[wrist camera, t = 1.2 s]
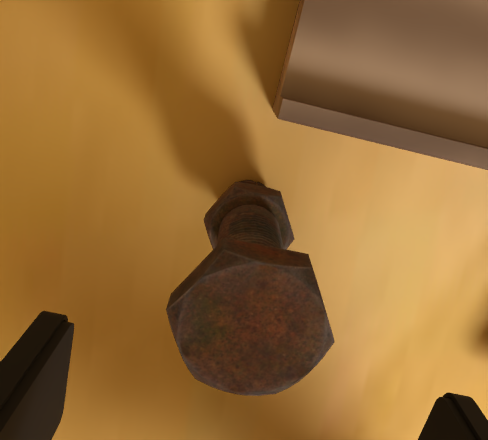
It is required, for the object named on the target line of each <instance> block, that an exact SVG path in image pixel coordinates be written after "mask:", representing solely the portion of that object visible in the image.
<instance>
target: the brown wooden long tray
mask: <svg viewBox="0 0 488 440" xmlns="http://www.w3.org/2000/svg"><path fill="white" fill-rule="evenodd" d="M273 112H274V113H275V115H276V117H277V118H278V119H281V120H285V121H289V122H293V123H297V124H301V125H305V126H309V127H314V128H318V129H322V130H326V131H330V132H334V133H338V134H342V135H346V136H350V137H355V138H359V139H363V140H367V141H371V142H375V143H379V144H383V145H387V146H391V147H395V148H400V149H404V150H408V151H412V152H416V153H420V154H424V155H428V156H432V157H436V158H440V159H445V160H449V161H453V162H457V163H461V164H465V165H469V166H473V167H477V168H481V169H486V170H488V0H300V2H299V6H298V10H297V14H296V18H295V22H294V26H293V30H292V34H291V38H290V42H289V46H288V50H287V54H286V58H285V62H284V66H283V70H282V74H281V78H280V82H279V86H278V90H277V94H276V98H275V102H274V106H273Z"/></svg>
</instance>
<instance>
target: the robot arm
mask: <svg viewBox="0 0 488 440" xmlns="http://www.w3.org/2000/svg"><path fill="white" fill-rule="evenodd" d="M73 333H74V323H70V322H68V318H67V316H66V315H62V314H57V313H52V312H47V311H42V312H41V313H40V314H39V315H38V317H37V318H36V319H35V320H34V322H33V323H32V324H31V325H30V327H29V328H28V329H27V330H26V331H25V333H24V334H23V335H22V336H21V338H20V339H19V340H18V341H17V343H16V344H15V345H14V346H13V348H12V349H11V350H10V351H9V352H8V354H7V355H6V356H5V357H4V359H3V360H2V361H0V440H51V439H52V437H53V435H54V433H55V431H56V429H57V428H58V425H59V423H60V420H61V417H62V414H63V409H64V401H65V394H66V386H67V378H68V371H69V363H70V356H71V348H72V340H73ZM418 440H488V420H487V419H486V417H485V416H484V414H483V413H482V411H481V410H480V408H479V407H478V405H477V404H476V403H475V401H474V400H473V399H472V398H471V397H468V396H463V395H458V394H453V393H446V394H445V395H444V396H443V397H439V398H438V399H437V400H436V402H435V404H434V406H433V408H432V410H431V412H430V415H429V417H428V419H427V421H426V423H425V425H424V427H423V430H422V432H421V434H420V436H419V438H418Z"/></svg>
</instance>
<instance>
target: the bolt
mask: <svg viewBox="0 0 488 440" xmlns="http://www.w3.org/2000/svg"><path fill="white" fill-rule="evenodd" d="M204 223H205V226H206V230H207V233H208V236H209V239H210V242H211V245H212V247H213V251H212V252H211V253H210V254H209V255H208V256H207V257H206V258H205V259H204V260H203V261H202V262H201V263H200V264H199V265H198V266H197V267H196V269H195V270H194V271H193V272H192V273H191V274H190V275H189V276H188V277H187V278H186V279H185V280H184V281H183V282H182V283H181V284H180V285H179V286H178V287H177V288H176V289H175V290H174V291H173V293H172V294H171V296H170V299H169V302H168V305H167V309H166V311H167V314H168V318H169V322H170V326H171V329H172V332H173V335H174V338H175V340H176V343H177V346H178V348H179V351H180V353H181V356H182V358H183V361H184V362H185V364H186V366H187V368H188V369H189V371H190V372H191V373H192V375H193V376H194V378H195V379H197V380H199V381H201V382H203V383H205V384H207V385H209V386H211V387H213V388H216V389H219V390H222V391H225V392H229V393H234V394H239V395H252V396H260V395H269V394H276V393H279V392H281V391H283V390H285V389H287V388H289V387H291V386H292V385H294V384H296V383H297V382H299V381H300V380H301V379H302V378H303V377H305V376H306V375H307V374H308V373H309V372H310V371H311V370H312V369H313V368H314V367H315V366H316V365H317V364H318V363H319V362H320V360H321V359H322V358H323V357H324V356H325V354H326V353H327V351H328V350H329V349H330V347H331V346H332V345H333V343H334V338H333V334H332V330H331V327H330V324H329V320H328V317H327V314H326V310H325V307H324V304H323V300H322V297H321V293H320V290H319V287H318V284H317V281H316V277H315V274H314V271H313V268H312V265H311V262H310V259H309V255H308V254H304V253H300V252H295V251H290V250H286V249H287V248H288V247H289V245H290V244H291V243H292V242H293V240H294V236H293V232H292V229H291V225H290V222H289V219H288V215H287V212H286V209H285V206H284V202H283V199H282V196H281V193H280V191H277V190H274V189H271V188H267V187H265V186H264V185H263V184H261V183H259V182H257V183H256V182H253V181H251V180H245V181H241V182H235V183H234V184H233V185H232V186H231V187H230V188H229V189H228V190H227V191H226V192H225V193H224V194H223V195H222V196H221V197H220V198H219V199H218V200H217V201H216V202H215V204H214V205H213V206H212V207H211V208H210V209H209V211H208V212H207V213H206V215H205V218H204Z"/></svg>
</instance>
